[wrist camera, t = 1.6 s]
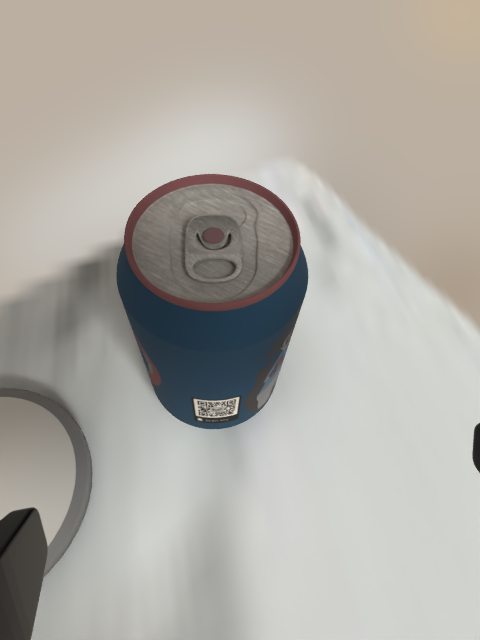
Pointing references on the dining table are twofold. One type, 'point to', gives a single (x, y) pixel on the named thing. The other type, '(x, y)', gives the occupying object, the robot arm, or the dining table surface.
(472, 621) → the dining table surface
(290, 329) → the soda can
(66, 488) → the ring coaster
